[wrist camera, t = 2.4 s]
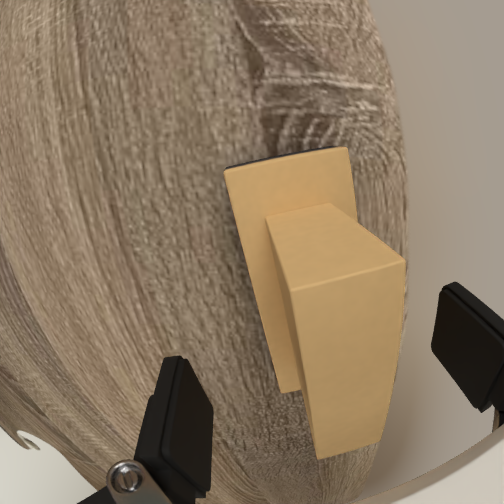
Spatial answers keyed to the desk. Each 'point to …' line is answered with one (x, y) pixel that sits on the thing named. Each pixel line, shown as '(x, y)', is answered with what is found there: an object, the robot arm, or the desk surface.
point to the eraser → (321, 291)
